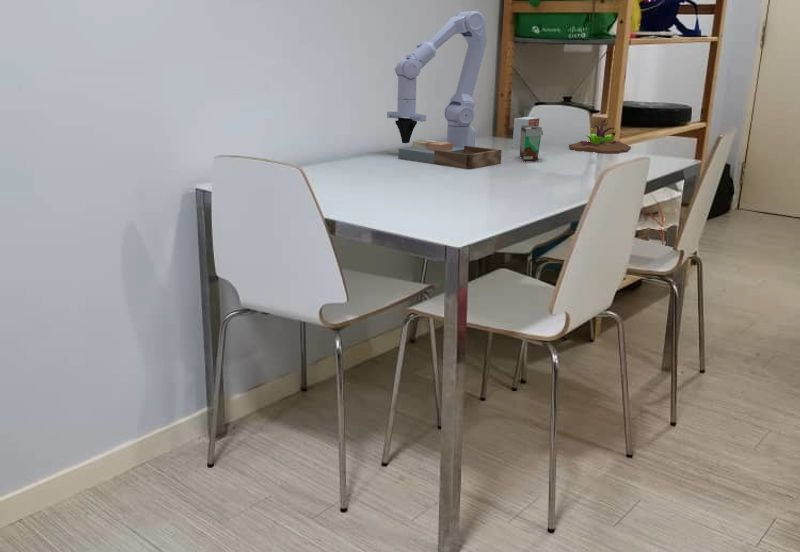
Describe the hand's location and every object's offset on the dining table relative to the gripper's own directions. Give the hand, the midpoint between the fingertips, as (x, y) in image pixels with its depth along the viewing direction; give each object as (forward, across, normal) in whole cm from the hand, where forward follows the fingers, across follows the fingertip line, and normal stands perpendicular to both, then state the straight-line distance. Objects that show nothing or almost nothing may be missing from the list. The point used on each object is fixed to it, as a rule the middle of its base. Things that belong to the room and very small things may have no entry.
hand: (405, 142), depth 251 cm
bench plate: (+4, +11, 0) cm, 12 cm away
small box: (+4, +18, +42) cm, 46 cm away
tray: (+4, +24, 0) cm, 25 cm away
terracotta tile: (+1, +14, 0) cm, 14 cm away
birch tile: (+1, +8, 0) cm, 8 cm away
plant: (+4, +38, +57) cm, 69 cm away
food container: (+4, +33, +22) cm, 40 cm away
